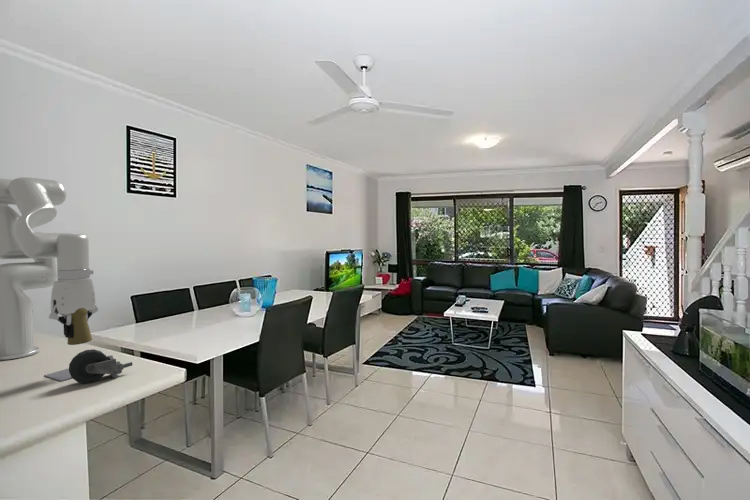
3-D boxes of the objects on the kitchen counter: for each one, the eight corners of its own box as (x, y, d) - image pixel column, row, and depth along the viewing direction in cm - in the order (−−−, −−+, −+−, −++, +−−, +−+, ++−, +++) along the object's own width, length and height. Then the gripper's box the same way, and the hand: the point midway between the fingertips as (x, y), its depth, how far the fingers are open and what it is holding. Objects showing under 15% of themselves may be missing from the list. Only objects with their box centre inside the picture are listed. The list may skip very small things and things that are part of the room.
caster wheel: (73, 392, 107) (135, 373, 117) (68, 358, 105) (131, 342, 116) (70, 386, 111) (130, 368, 121) (65, 353, 109) (126, 338, 120)
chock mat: (44, 376, 115) (44, 375, 115) (85, 364, 125) (84, 364, 125) (61, 381, 111) (61, 380, 111) (102, 369, 121) (102, 368, 121)
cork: (78, 345, 115) (74, 308, 113) (62, 344, 116) (58, 308, 115) (97, 338, 120) (93, 303, 119) (81, 337, 122) (77, 303, 121)
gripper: (94, 272, 125) (96, 329, 126) (34, 277, 110) (36, 341, 111) (109, 273, 122) (110, 331, 123) (48, 278, 107) (50, 344, 108)
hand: (75, 335), depth 117 cm, fingers closed on cork, 2 cm apart
